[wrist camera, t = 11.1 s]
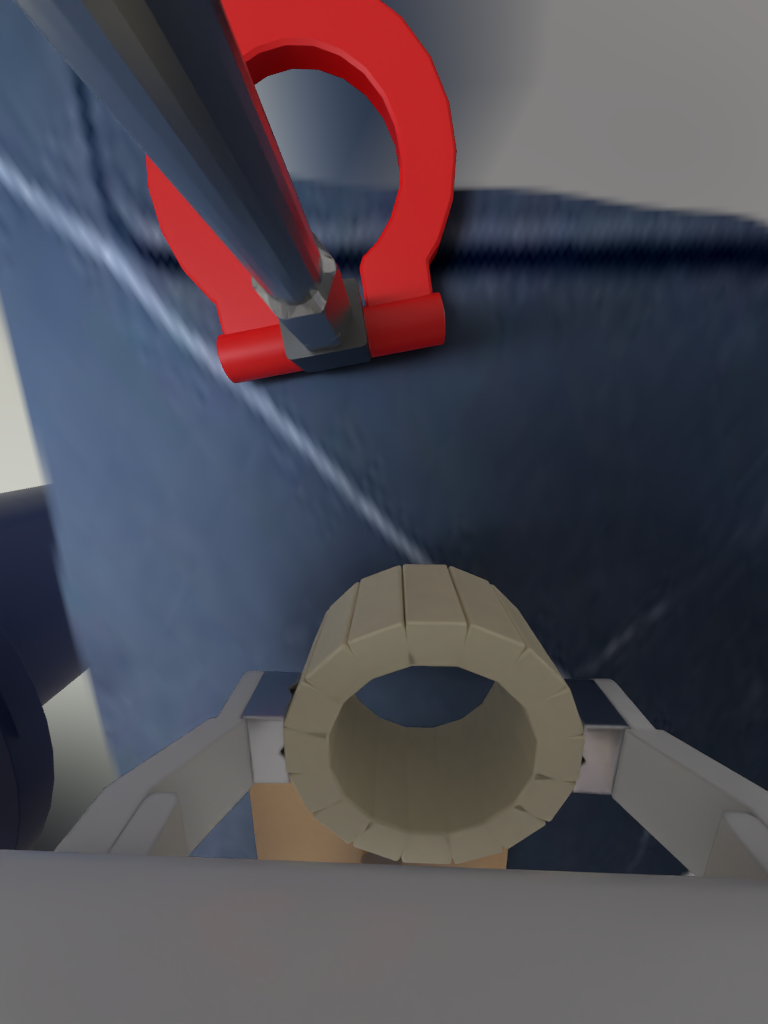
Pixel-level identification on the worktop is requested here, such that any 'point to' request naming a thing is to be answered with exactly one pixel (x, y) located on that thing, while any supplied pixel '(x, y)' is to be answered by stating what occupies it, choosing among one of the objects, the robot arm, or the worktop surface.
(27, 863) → the robot arm
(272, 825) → the peg stand
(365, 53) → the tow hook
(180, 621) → the worktop surface
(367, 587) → the tape roll
